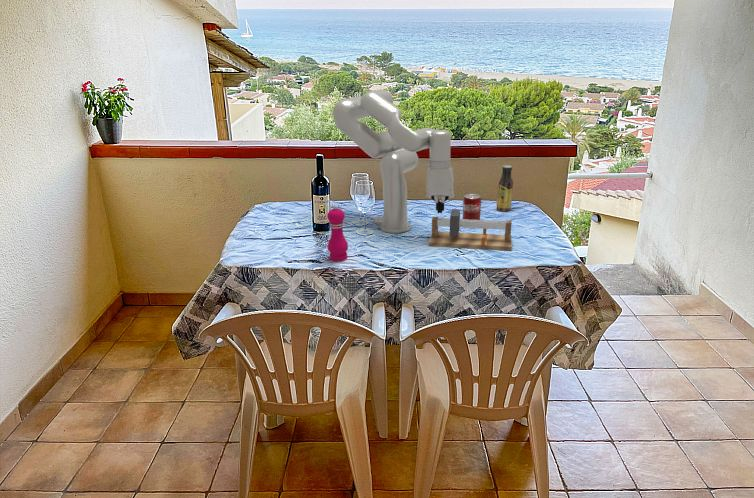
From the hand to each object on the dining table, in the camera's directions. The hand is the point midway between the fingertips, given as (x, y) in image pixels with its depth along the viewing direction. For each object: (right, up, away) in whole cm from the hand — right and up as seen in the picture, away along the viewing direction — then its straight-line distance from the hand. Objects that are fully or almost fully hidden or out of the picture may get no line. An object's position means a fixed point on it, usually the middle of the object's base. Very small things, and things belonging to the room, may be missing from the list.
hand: (440, 212), depth 197 cm
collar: (+5, -8, -1) cm, 10 cm away
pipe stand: (+11, -12, -1) cm, 16 cm away
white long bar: (+11, -6, -4) cm, 13 cm away
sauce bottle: (+32, +3, +34) cm, 47 cm away
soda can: (+15, -4, +18) cm, 24 cm away
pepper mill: (-38, -18, -12) cm, 43 cm away
